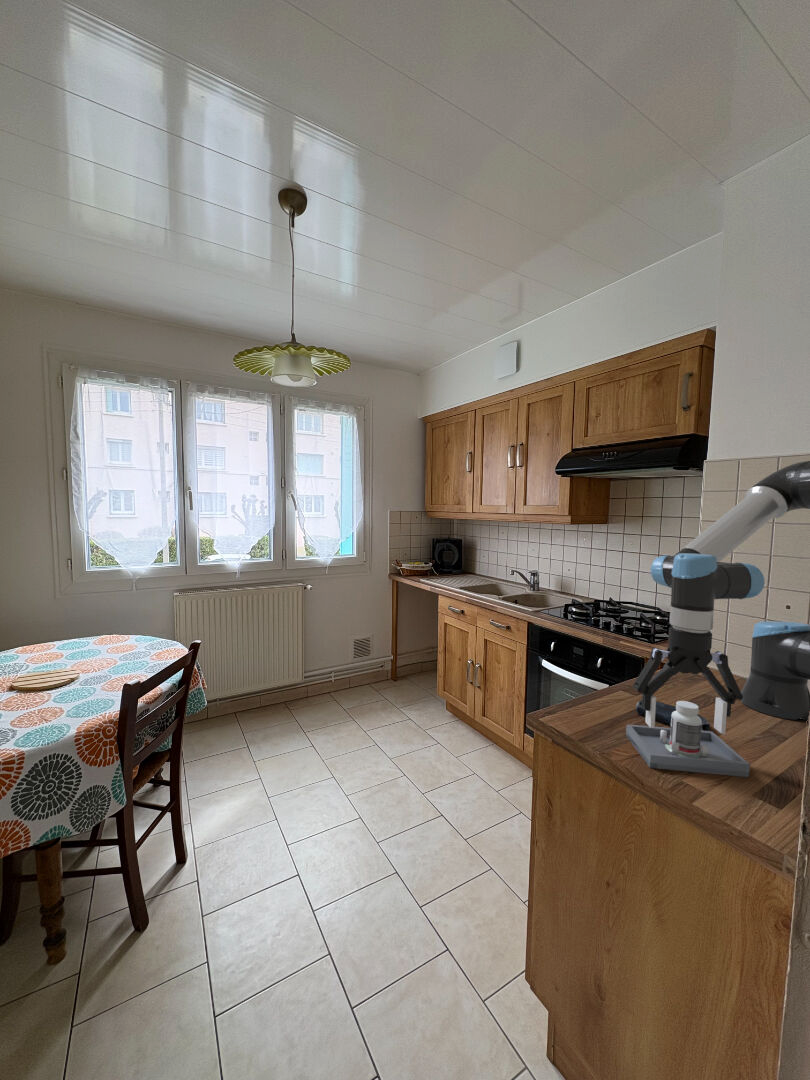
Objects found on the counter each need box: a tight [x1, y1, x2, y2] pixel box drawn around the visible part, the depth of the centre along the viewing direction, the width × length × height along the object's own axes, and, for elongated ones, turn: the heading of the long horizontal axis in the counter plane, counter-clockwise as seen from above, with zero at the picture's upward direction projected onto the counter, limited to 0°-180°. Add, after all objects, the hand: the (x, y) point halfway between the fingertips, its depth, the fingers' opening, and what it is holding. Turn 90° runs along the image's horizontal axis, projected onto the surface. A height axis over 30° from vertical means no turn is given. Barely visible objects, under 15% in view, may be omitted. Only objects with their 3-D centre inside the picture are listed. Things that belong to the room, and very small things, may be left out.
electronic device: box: [634, 699, 711, 731], centre depth 108 cm, size 9×6×15 cm
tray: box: [625, 724, 751, 778], centre depth 92 cm, size 18×13×4 cm
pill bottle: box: [669, 700, 703, 756], centre depth 92 cm, size 5×5×10 cm
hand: (684, 728), depth 92 cm, fingers open, 13 cm apart
